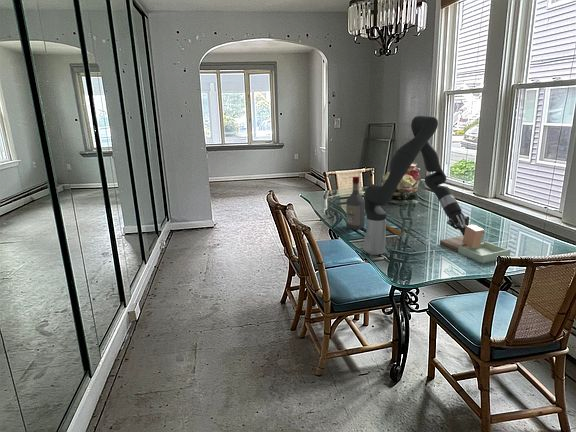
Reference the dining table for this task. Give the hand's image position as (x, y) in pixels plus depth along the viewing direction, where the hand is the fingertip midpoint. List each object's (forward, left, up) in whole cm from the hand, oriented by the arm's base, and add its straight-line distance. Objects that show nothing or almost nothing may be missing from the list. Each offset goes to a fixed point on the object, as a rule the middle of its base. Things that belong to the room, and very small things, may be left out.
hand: (466, 235), depth 185 cm
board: (0, +3, -6) cm, 7 cm away
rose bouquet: (+31, +92, -7) cm, 97 cm away
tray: (0, -11, -6) cm, 12 cm away
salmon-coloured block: (0, -3, -4) cm, 5 cm away
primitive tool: (-16, +40, -7) cm, 43 cm away
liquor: (-31, +53, -7) cm, 61 cm away
